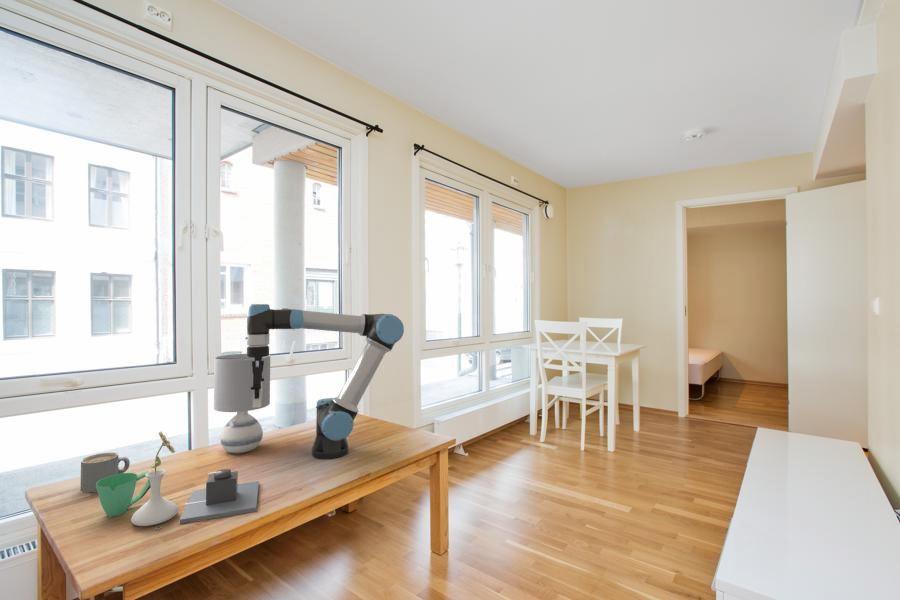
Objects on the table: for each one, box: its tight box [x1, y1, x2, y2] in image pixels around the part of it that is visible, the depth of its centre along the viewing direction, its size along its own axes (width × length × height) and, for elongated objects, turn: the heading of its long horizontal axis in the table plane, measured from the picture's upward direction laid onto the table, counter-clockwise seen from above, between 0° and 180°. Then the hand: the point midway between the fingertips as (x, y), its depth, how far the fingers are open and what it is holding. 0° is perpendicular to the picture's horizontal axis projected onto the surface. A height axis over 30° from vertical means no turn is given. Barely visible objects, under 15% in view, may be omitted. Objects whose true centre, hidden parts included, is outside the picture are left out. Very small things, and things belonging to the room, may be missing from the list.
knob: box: [205, 468, 239, 505], centre depth 133 cm, size 8×6×9 cm
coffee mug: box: [80, 451, 131, 494], centre depth 145 cm, size 13×10×10 cm
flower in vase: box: [130, 431, 179, 527], centre depth 123 cm, size 13×11×25 cm
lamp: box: [213, 353, 271, 454], centre depth 180 cm, size 22×22×40 cm
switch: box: [179, 480, 260, 525], centre depth 133 cm, size 20×20×6 cm
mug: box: [96, 471, 151, 517], centre depth 129 cm, size 15×10×10 cm
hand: (257, 403), depth 154 cm, fingers open, 13 cm apart
